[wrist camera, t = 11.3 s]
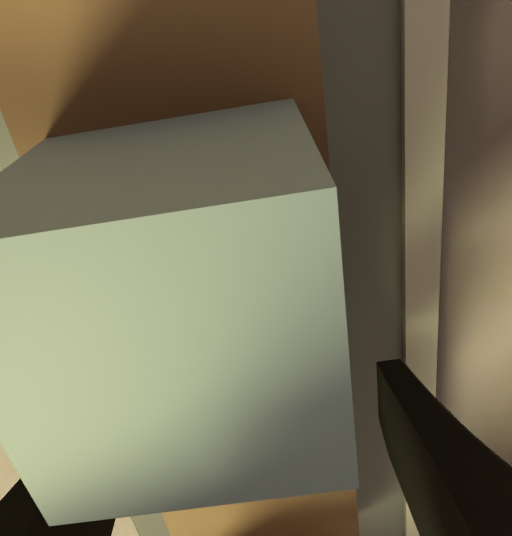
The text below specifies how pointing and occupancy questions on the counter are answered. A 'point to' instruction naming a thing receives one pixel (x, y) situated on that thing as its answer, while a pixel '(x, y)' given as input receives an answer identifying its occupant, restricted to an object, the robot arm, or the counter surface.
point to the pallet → (163, 107)
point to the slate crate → (174, 317)
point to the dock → (378, 212)
